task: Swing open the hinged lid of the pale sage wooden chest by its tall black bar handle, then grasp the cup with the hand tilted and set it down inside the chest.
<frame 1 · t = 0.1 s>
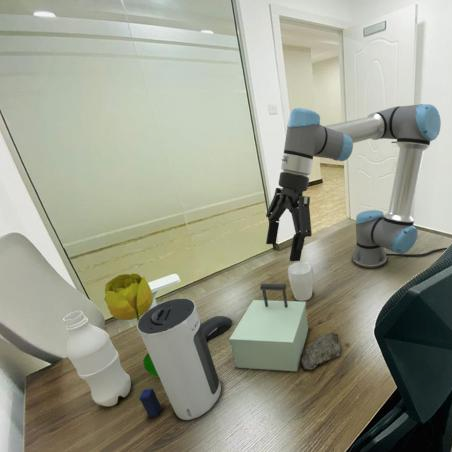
hand: (281, 251, 70), 28 cm above the table, tool tilted 20°, fingers open, 13 cm apart
stone: (322, 354, 72), on the table
computer mouse: (206, 341, 79), on the table
white cylindrical appliance: (198, 398, 62), on the table
lid: (269, 308, 70), point 14 cm above the table, hinge at 0.0°
water bottle: (116, 396, 64), on the table
cup: (303, 295, 97), on the table
chest: (275, 347, 75), on the table
eraser: (155, 413, 60), on the table
flower: (163, 376, 68), on the table
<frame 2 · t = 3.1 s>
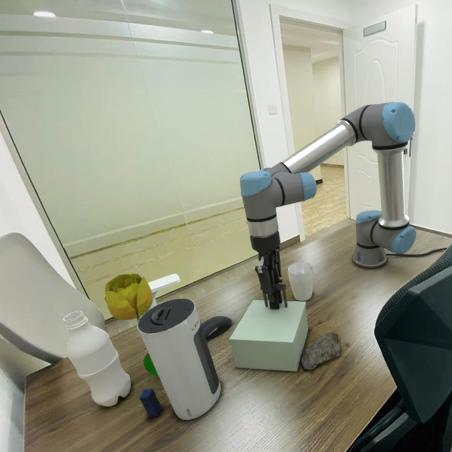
hand: (276, 305, 76), 11 cm above the table, tool pointing down, fingers closed on lid, 2 cm apart
lid: (269, 308, 70), point 14 cm above the table, hinge at 0.0°, touching gripper
everything else where it was.
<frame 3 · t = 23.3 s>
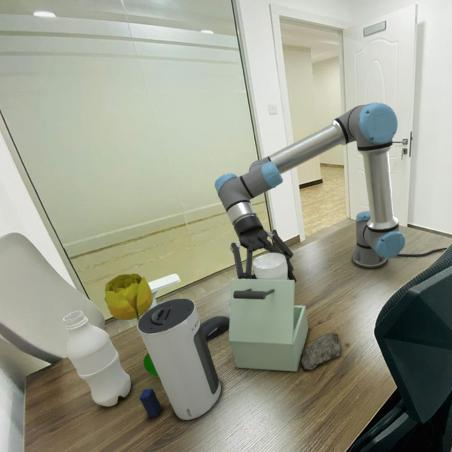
hand: (279, 290, 71), 18 cm above the table, tool tilted 45°, fingers closed on cup, 9 cm apart
lid: (255, 314, 62), point 18 cm above the table, hinge at 62.5°
cup: (275, 297, 75), point 14 cm above the table, touching gripper
everything else where it was.
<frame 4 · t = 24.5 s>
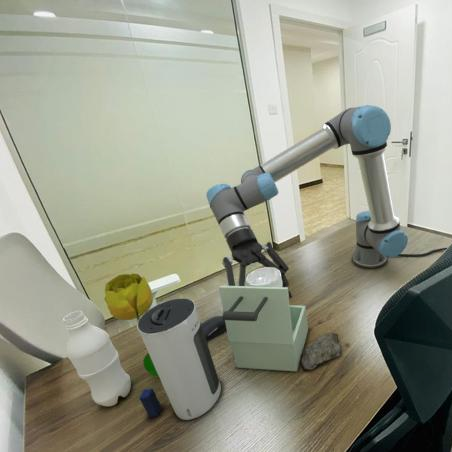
hand: (273, 306, 68), 16 cm above the table, tool tilted 45°, fingers closed on cup, 9 cm apart
lid: (250, 326, 59), point 18 cm above the table, hinge at 84.3°
cup: (270, 313, 71), point 12 cm above the table, touching gripper
everything else where it was.
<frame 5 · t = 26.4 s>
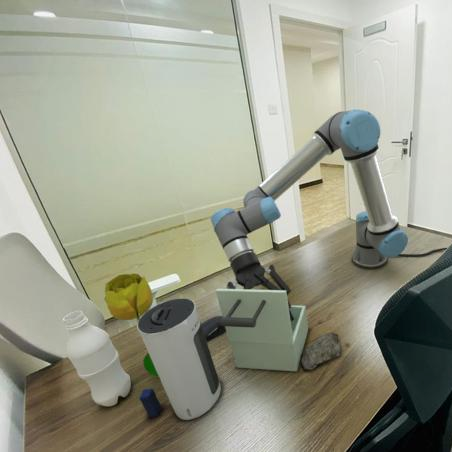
hand: (276, 329, 70), 9 cm above the table, tool tilted 45°, fingers closed on cup, 9 cm apart
lid: (249, 329, 58), point 18 cm above the table, hinge at 89.2°
cup: (272, 335, 73), point 5 cm above the table, touching gripper
everything else where it was.
when the fingers open (9 cm above the table, at t = 28.4 s): cup drops 4 cm, resting on chest.
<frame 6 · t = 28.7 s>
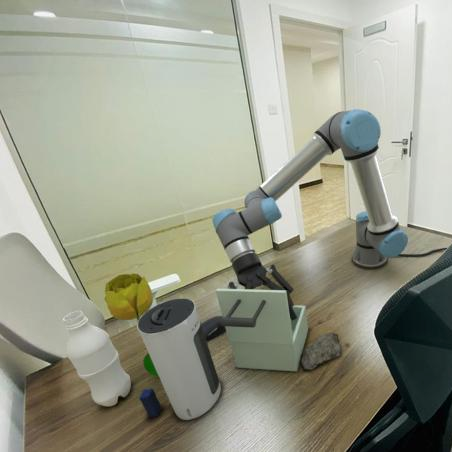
hand: (277, 329, 70), 9 cm above the table, tool tilted 45°, fingers open, 10 cm apart
lid: (249, 329, 58), point 18 cm above the table, hinge at 89.2°, touching gripper
cup: (274, 345, 75), point 1 cm above the table, touching chest
everything else where it was.
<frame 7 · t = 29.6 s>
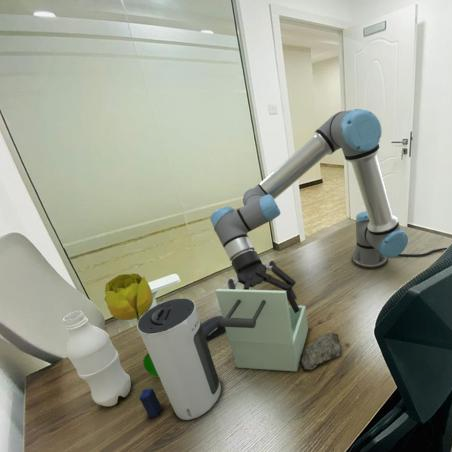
hand: (277, 324, 70), 10 cm above the table, tool tilted 45°, fingers open, 12 cm apart
lid: (249, 329, 58), point 17 cm above the table, hinge at 89.6°, touching gripper
everything else where it was.
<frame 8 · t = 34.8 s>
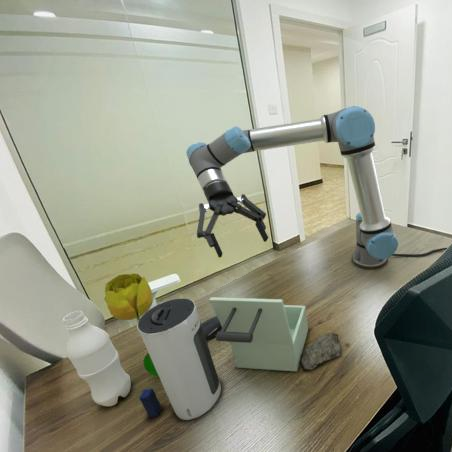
hand: (244, 247, 74), 28 cm above the table, tool tilted 45°, fingers open, 13 cm apart
lid: (247, 337, 57), point 17 cm above the table, hinge at 100.2°
everything else where it was.
at the end: lid at +100° (first picture: +0°); cup inside the target area in the chest (0.0 cm from its centre), point 0.6 cm above the chest's base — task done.
